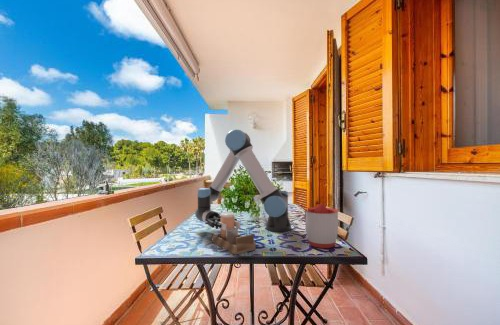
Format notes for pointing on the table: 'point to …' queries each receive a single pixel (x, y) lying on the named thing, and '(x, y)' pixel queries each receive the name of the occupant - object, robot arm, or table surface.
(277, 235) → the table surface
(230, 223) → the jar
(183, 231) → the table surface
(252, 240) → the tray
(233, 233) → the pusher
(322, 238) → the citrus juicer
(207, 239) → the table surface
